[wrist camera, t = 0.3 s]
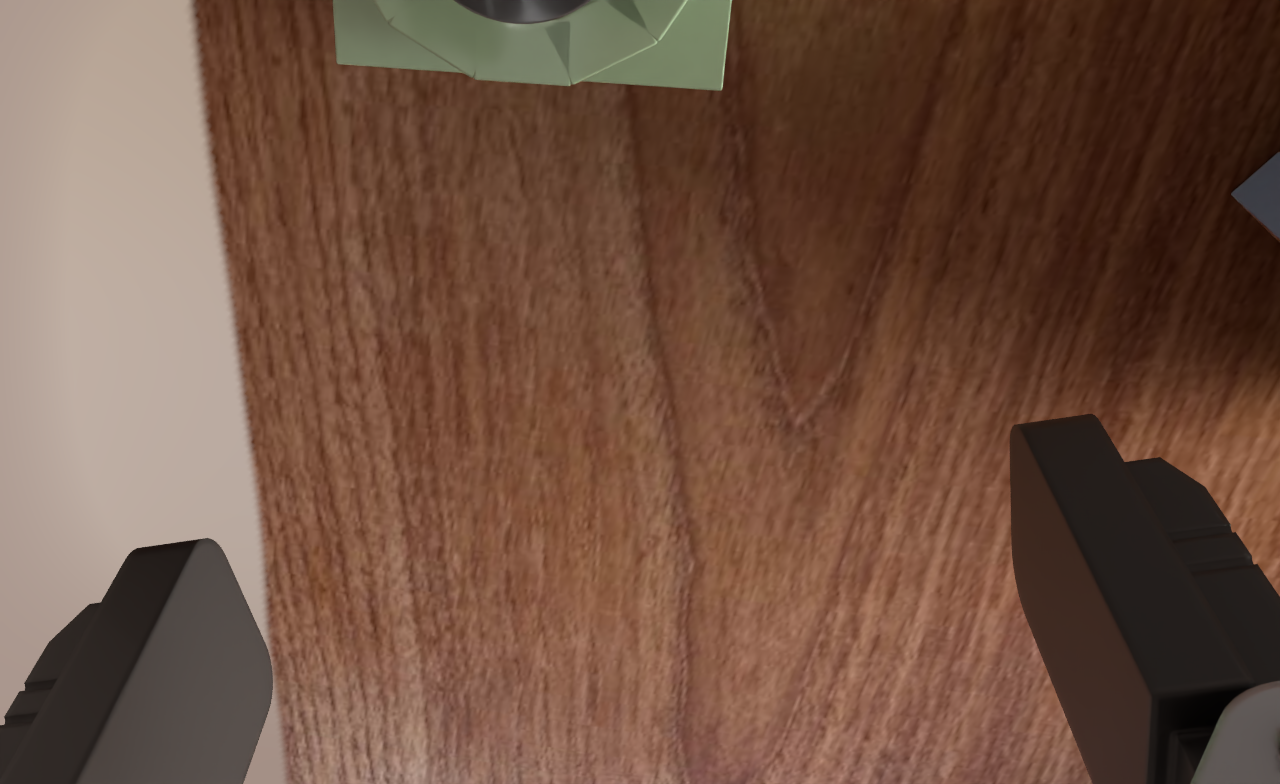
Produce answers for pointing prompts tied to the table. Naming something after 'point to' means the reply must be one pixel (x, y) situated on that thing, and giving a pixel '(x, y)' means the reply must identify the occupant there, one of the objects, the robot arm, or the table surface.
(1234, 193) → the blue push button base
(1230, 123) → the table surface
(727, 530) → the table surface
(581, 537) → the table surface
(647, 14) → the light green square block
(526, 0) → the dark grey button cap
